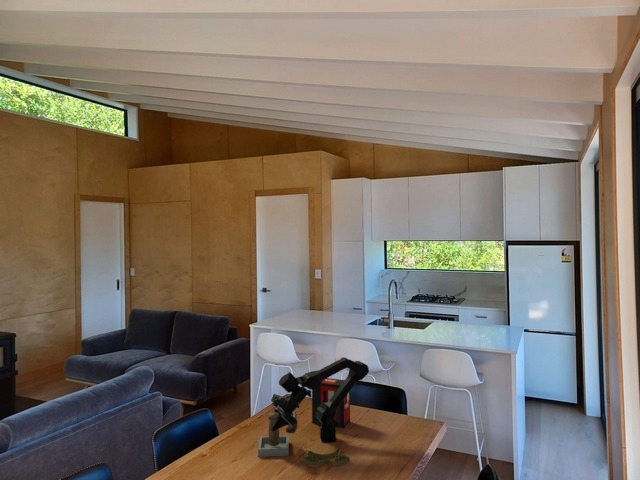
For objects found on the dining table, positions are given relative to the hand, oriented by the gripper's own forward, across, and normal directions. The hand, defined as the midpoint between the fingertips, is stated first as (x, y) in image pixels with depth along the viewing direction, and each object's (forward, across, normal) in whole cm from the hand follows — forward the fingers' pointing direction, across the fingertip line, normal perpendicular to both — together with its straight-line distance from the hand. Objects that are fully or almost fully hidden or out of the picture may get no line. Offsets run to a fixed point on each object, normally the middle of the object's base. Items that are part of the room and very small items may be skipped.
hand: (270, 428), depth 189 cm
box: (+5, 0, +7) cm, 9 cm away
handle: (+4, 0, +6) cm, 7 cm away
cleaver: (-4, -28, +18) cm, 34 cm away
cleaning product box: (-18, -17, +32) cm, 40 cm away
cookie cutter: (-6, +17, +20) cm, 27 cm away
